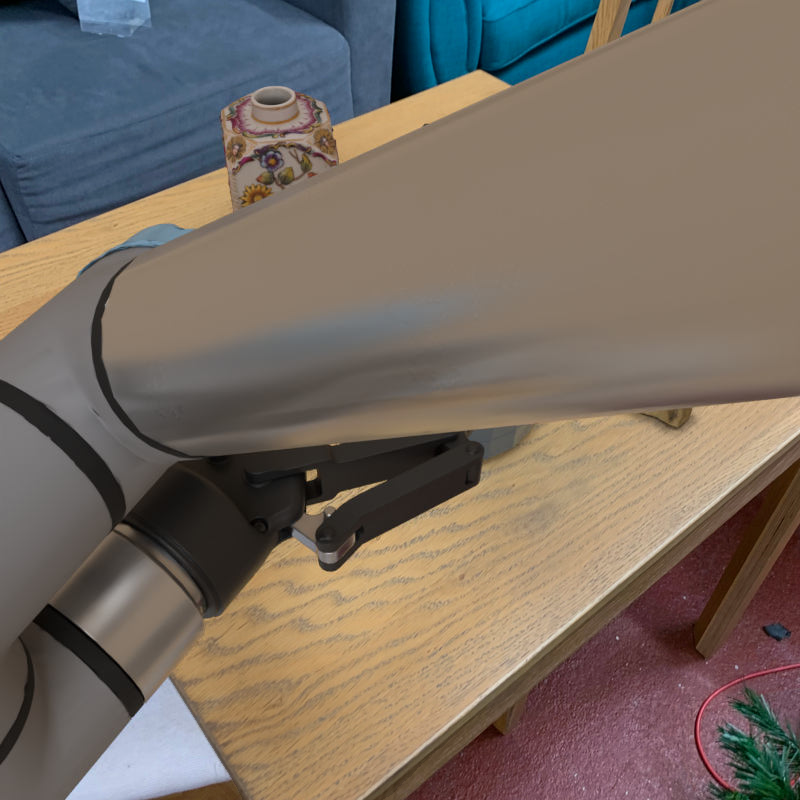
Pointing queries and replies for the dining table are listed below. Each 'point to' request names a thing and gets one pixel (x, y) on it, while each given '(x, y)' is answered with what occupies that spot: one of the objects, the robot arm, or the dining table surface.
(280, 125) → the decorative jar
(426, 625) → the dining table surface
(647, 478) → the dining table surface
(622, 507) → the dining table surface
